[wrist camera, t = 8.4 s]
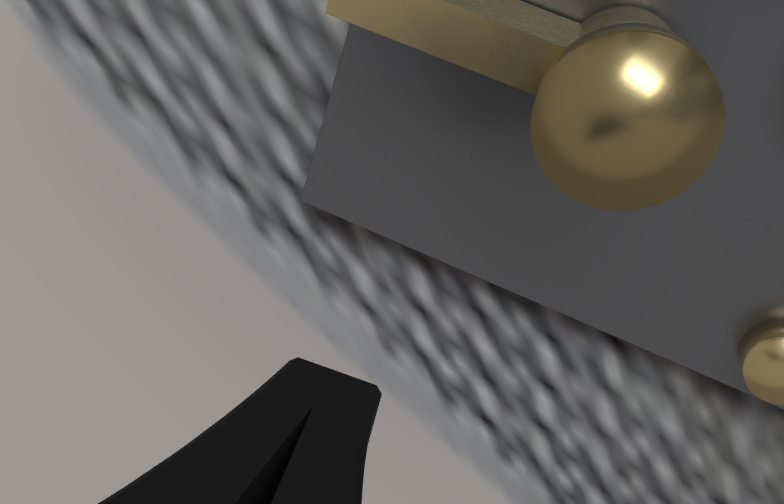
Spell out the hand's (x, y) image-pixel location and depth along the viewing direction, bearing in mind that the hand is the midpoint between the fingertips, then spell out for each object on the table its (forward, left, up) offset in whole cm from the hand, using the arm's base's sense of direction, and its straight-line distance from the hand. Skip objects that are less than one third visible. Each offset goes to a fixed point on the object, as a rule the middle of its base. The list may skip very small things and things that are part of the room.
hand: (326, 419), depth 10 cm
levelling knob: (0, -4, -8) cm, 10 cm away
